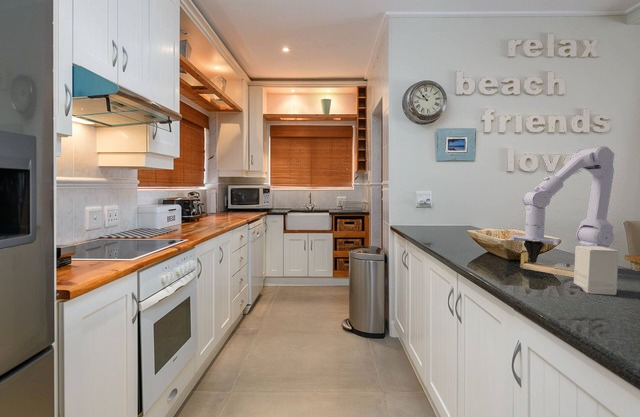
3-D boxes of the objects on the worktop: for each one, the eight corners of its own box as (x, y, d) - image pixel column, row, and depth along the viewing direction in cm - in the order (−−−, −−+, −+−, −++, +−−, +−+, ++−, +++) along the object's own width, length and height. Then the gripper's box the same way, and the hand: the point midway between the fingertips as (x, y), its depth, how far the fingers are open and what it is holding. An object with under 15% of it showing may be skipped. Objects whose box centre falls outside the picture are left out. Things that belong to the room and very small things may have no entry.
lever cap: (558, 265, 114) (558, 261, 114) (579, 269, 109) (580, 264, 109) (553, 267, 111) (554, 263, 111) (575, 271, 106) (576, 266, 106)
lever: (524, 265, 122) (525, 252, 121) (527, 265, 121) (528, 252, 120) (520, 266, 119) (521, 253, 119) (523, 267, 118) (524, 253, 118)
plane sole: (526, 267, 123) (526, 260, 122) (583, 277, 109) (584, 269, 109) (519, 270, 118) (519, 263, 118) (578, 280, 105) (578, 273, 105)
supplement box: (617, 295, 91) (620, 250, 90) (587, 293, 92) (589, 249, 92) (600, 287, 98) (602, 245, 97) (572, 286, 100) (574, 245, 99)
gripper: (508, 223, 120) (506, 260, 121) (555, 227, 109) (553, 267, 110) (515, 222, 124) (514, 257, 125) (561, 226, 113) (559, 264, 114)
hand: (533, 262), depth 118 cm, fingers closed
